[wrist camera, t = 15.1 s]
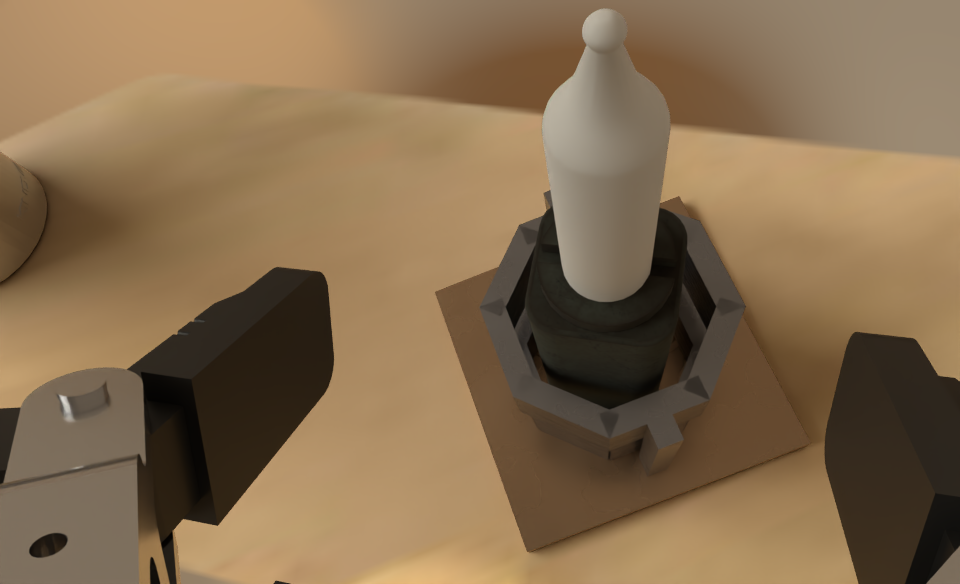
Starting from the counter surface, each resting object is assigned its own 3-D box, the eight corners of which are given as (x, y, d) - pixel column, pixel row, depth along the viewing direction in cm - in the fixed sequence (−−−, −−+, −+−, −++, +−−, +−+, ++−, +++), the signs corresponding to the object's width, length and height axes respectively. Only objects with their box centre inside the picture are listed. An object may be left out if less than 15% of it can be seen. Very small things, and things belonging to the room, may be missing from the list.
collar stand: (528, 552, 35) (504, 545, 27) (438, 297, 40) (394, 225, 32) (806, 446, 35) (869, 405, 26) (677, 203, 40) (695, 106, 32)
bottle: (564, 311, 38) (497, -92, 15) (665, 325, 37) (759, -87, 14) (547, 407, 36) (443, 121, 13) (652, 425, 35) (736, 146, 12)
